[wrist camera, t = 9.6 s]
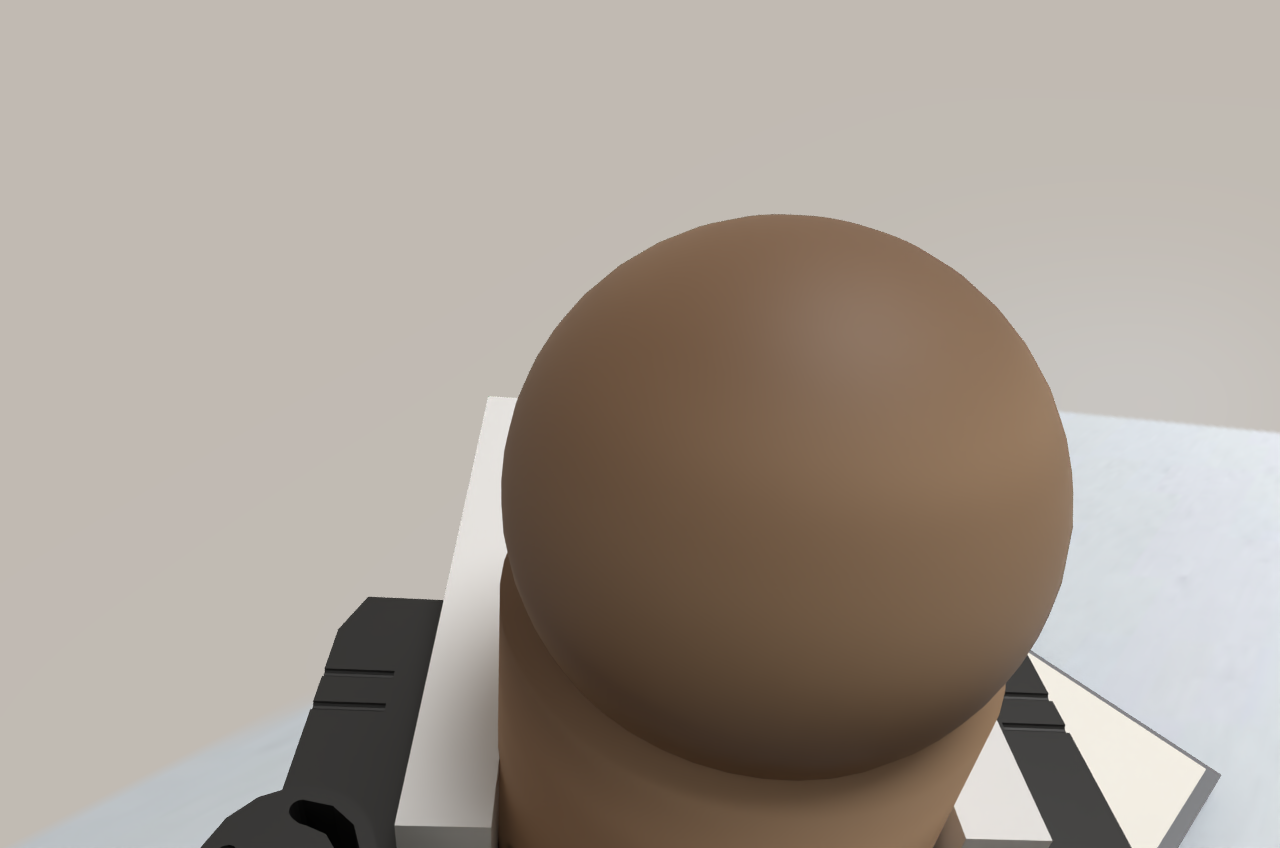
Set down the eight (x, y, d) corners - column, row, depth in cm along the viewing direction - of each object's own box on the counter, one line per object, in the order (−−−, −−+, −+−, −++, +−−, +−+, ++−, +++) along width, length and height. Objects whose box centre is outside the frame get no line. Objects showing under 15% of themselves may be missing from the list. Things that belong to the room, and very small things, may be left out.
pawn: (844, 1088, 12) (1285, 286, 5) (625, 1366, 9) (941, 527, 3) (650, 866, 14) (790, 123, 8) (435, 1043, 12) (375, 180, 5)
